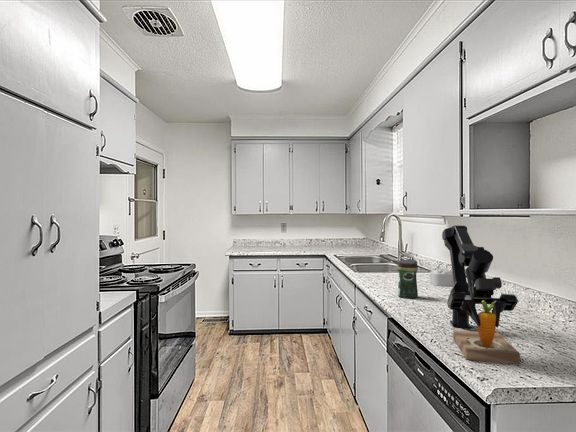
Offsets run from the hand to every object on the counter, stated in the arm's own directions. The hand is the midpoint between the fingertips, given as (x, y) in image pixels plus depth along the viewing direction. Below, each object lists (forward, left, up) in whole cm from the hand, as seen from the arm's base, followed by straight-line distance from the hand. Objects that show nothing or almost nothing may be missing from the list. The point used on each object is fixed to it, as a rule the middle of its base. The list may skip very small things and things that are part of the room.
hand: (488, 326), depth 113 cm
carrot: (-1, 0, -8) cm, 8 cm away
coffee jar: (-75, -16, -9) cm, 77 cm away
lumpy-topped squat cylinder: (-113, +7, -9) cm, 113 cm away
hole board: (-4, 0, -9) cm, 10 cm away
